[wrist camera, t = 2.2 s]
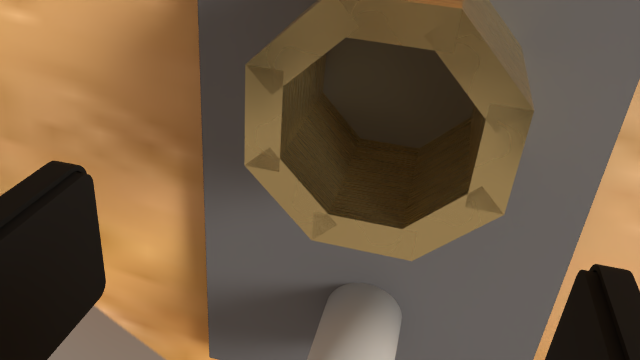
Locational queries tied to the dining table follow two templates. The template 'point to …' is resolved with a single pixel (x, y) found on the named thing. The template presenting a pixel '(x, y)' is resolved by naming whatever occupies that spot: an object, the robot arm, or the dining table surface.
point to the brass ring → (379, 157)
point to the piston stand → (413, 131)
